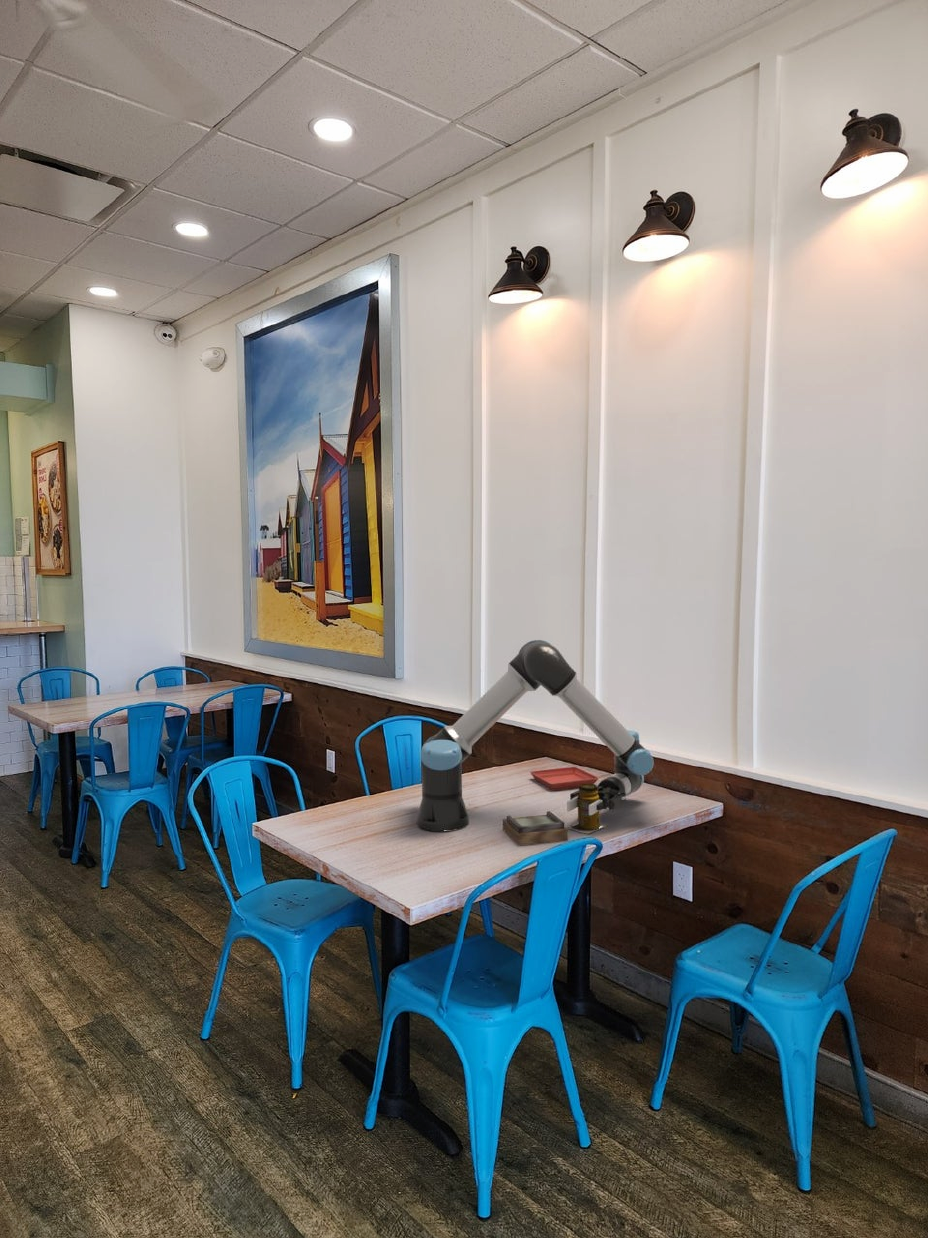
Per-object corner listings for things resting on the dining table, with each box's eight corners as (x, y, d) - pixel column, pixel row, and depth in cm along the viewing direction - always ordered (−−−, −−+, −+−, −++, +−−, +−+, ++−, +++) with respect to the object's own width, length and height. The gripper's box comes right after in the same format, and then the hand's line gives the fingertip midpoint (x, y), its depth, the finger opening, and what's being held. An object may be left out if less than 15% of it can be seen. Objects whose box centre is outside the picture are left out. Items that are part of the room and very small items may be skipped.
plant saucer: (529, 780, 281) (528, 770, 281) (575, 775, 287) (575, 765, 287) (551, 793, 264) (551, 783, 264) (599, 787, 270) (599, 778, 270)
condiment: (606, 827, 228) (605, 785, 227) (587, 834, 222) (586, 791, 221) (585, 822, 233) (584, 781, 232) (567, 829, 227) (566, 787, 226)
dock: (518, 845, 214) (518, 829, 214) (502, 829, 228) (502, 813, 227) (567, 840, 218) (567, 823, 218) (549, 824, 231) (548, 809, 231)
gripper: (643, 805, 236) (610, 827, 217) (585, 796, 247) (549, 816, 228) (643, 780, 236) (610, 800, 217) (585, 772, 247) (548, 790, 228)
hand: (579, 808), depth 223 cm, fingers closed on condiment, 6 cm apart
